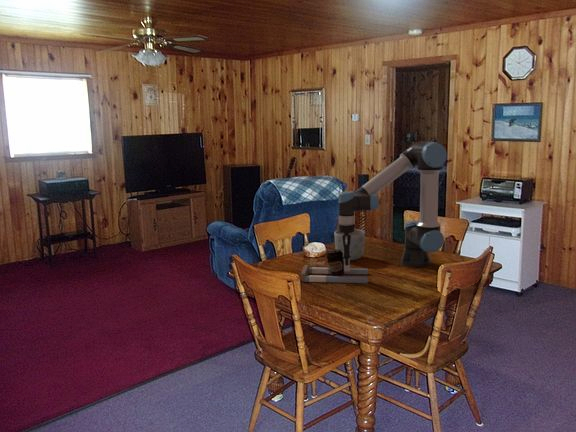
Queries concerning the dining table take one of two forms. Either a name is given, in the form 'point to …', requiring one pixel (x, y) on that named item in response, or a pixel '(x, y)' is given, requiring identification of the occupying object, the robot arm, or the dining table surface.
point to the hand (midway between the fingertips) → (346, 270)
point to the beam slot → (332, 278)
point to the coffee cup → (336, 262)
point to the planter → (351, 243)
